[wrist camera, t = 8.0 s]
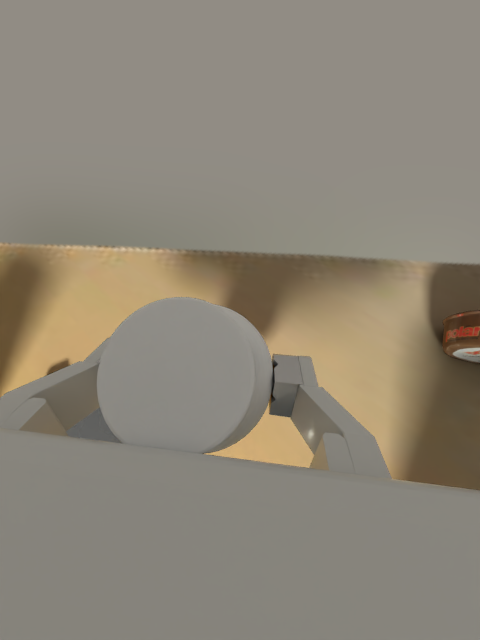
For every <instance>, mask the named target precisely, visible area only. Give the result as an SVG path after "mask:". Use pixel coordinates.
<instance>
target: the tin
mask: <svg viewBox="0 0 480 640" xmlns="http://www.w3.org/2000/svg"><path fill="white" fill-rule="evenodd" d="M443 325H444V334H443V350H444V352H445V353H446V354H447V355H449V356H451V357H454V358H457V359H461V360H465V361H469V362H473V363H478V364H480V310H475V311H467V312H463V313H458V314H454V315H451V316H449V317H447V318H445V319H444V321H443Z"/></svg>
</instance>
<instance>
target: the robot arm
mask: <svg viewBox="0 0 480 640" xmlns="http://www.w3.org/2000/svg"><path fill="white" fill-rule="evenodd" d="M109 339H110V338H107V339H106V340H105V341H104V342H103V343H102V344H101V345H100V346H99V347H98V348H97V349H96V350H95V351H94V352H92V353H91V354H90V355H89V356H88V357H87V358H86V359H85V360H84V361H83V362H80V361H79V362H77V363H74V364H72V365H70V366H68V367H65V368H63V369H61V370H58V371H56V372H54V373H51V374H49V375H47V376H44V377H42V378H40V379H37V380H35V381H33V382H30V383H28V384H26V385H23V386H21V387H19V388H17V389H14V390H12V391H10V392H7V393H6V394H4V395H3V396H2V397H1V398H0V640H480V490H474V489H466V488H459V487H451V486H443V485H436V484H428V483H420V482H413V481H405V480H397V479H392V478H391V476H390V473H389V471H388V468H387V466H386V464H385V461H384V459H383V456H382V454H381V451H380V449H379V447H378V444H377V442H376V439H375V437H374V436H373V435H372V434H371V433H370V432H368V431H367V430H366V429H365V428H364V427H363V426H362V425H361V424H360V423H359V422H358V421H357V420H356V419H355V418H354V417H353V416H352V415H351V414H350V413H349V412H348V411H347V410H345V409H344V408H343V407H342V406H341V405H340V404H339V403H338V402H337V401H336V400H335V399H334V398H333V397H332V396H331V395H330V394H329V393H328V392H327V391H326V390H325V389H324V388H323V387H318V383H317V379H316V375H315V371H314V367H313V363H312V359H311V357H308V356H292V355H281V354H273V357H272V366H273V386H272V392H271V396H270V400H269V414H270V415H277V416H284V417H291V420H292V421H293V423H294V424H295V426H296V427H297V429H298V431H299V432H300V434H301V435H302V437H303V438H304V440H305V441H306V443H307V445H308V446H309V448H310V449H311V451H312V452H313V454H314V458H313V460H312V463H311V465H310V467H309V468H306V467H298V466H290V465H283V464H275V463H267V462H260V461H252V460H244V459H237V458H229V457H221V456H214V455H206V454H198V453H190V452H183V451H175V450H167V449H160V448H152V447H144V446H137V445H129V444H122V443H114V442H106V441H99V440H91V439H83V438H76V437H69V436H68V434H67V433H66V431H67V430H68V429H70V428H71V427H73V426H74V425H75V424H77V423H78V422H80V421H81V420H82V419H84V418H85V417H86V416H88V415H89V414H91V413H92V412H93V411H95V410H96V409H98V408H99V407H100V406H99V402H98V395H97V373H98V368H99V363H100V359H101V356H102V353H103V351H104V349H105V346H106V344H107V342H108V341H109Z"/></svg>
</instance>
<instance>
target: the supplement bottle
mask: <svg viewBox="0 0 480 640" xmlns="http://www.w3.org/2000/svg"><path fill="white" fill-rule="evenodd" d="M272 386H273V366H272V361H271V356H270V353H269V350H268V347H267V345H266V343H265V341H264V339H263V337H262V336H261V334H260V333H259V331H258V330H257V329H256V328H255V327H254V326H253V325H252V324H251V323H250V322H249V321H248V320H247V319H246V318H245V317H243V316H242V315H240V314H239V313H237V312H235V311H233V310H231V309H229V308H226V307H223V306H219V305H214V304H211V303H209V302H206V301H204V300H200V299H196V298H189V297H174V298H166V299H162V300H158V301H155V302H152V303H150V304H148V305H146V306H144V307H142V308H140V309H138V310H137V311H135V312H134V313H132V314H131V315H130V316H129V317H128V318H127V319H125V320H124V321H123V322H122V323H121V324H120V325H119V327H118V328H117V329H116V330H115V332H114V333H113V334H112V336H111V337H110V339H109V341H108V342H107V344H106V346H105V349H104V351H103V353H102V356H101V359H100V363H99V368H98V373H97V395H98V402H99V406H100V409H101V412H102V415H103V417H104V420H105V422H106V424H107V425H108V427H109V428H110V430H111V431H112V433H113V434H114V435H115V436H116V437H117V438H118V439H119V440H120V441H121V442H122V443H123V444H129V445H137V446H144V447H152V448H160V449H167V450H175V451H183V452H190V453H198V454H204V453H211V452H216V451H219V450H222V449H225V448H227V447H229V446H231V445H233V444H235V443H237V442H238V441H240V440H241V439H242V438H244V437H245V436H246V435H247V434H248V433H249V432H250V431H251V430H252V429H253V428H254V427H255V426H256V425H257V423H258V422H259V420H260V419H261V417H262V415H263V414H264V412H265V410H266V408H267V405H268V403H269V400H270V396H271V392H272Z"/></svg>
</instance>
